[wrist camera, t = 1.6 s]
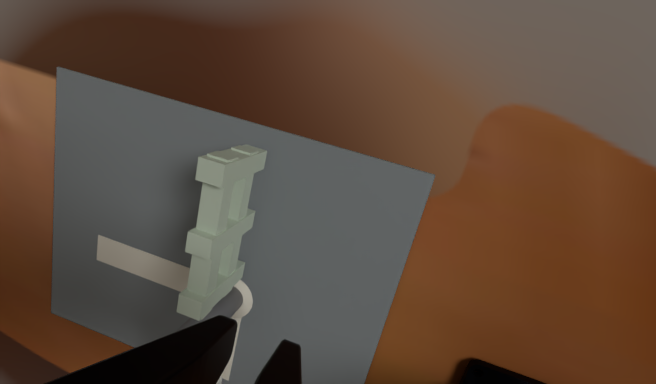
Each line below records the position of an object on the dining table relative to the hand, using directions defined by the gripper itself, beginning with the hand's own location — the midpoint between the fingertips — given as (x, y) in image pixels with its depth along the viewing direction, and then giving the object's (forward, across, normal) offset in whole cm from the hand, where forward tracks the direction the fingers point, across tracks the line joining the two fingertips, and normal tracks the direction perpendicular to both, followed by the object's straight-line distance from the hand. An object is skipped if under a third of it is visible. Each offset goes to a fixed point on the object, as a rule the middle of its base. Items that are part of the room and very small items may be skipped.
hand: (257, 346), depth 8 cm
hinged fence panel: (+11, +6, +3) cm, 13 cm away
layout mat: (+12, +8, +6) cm, 15 cm away
